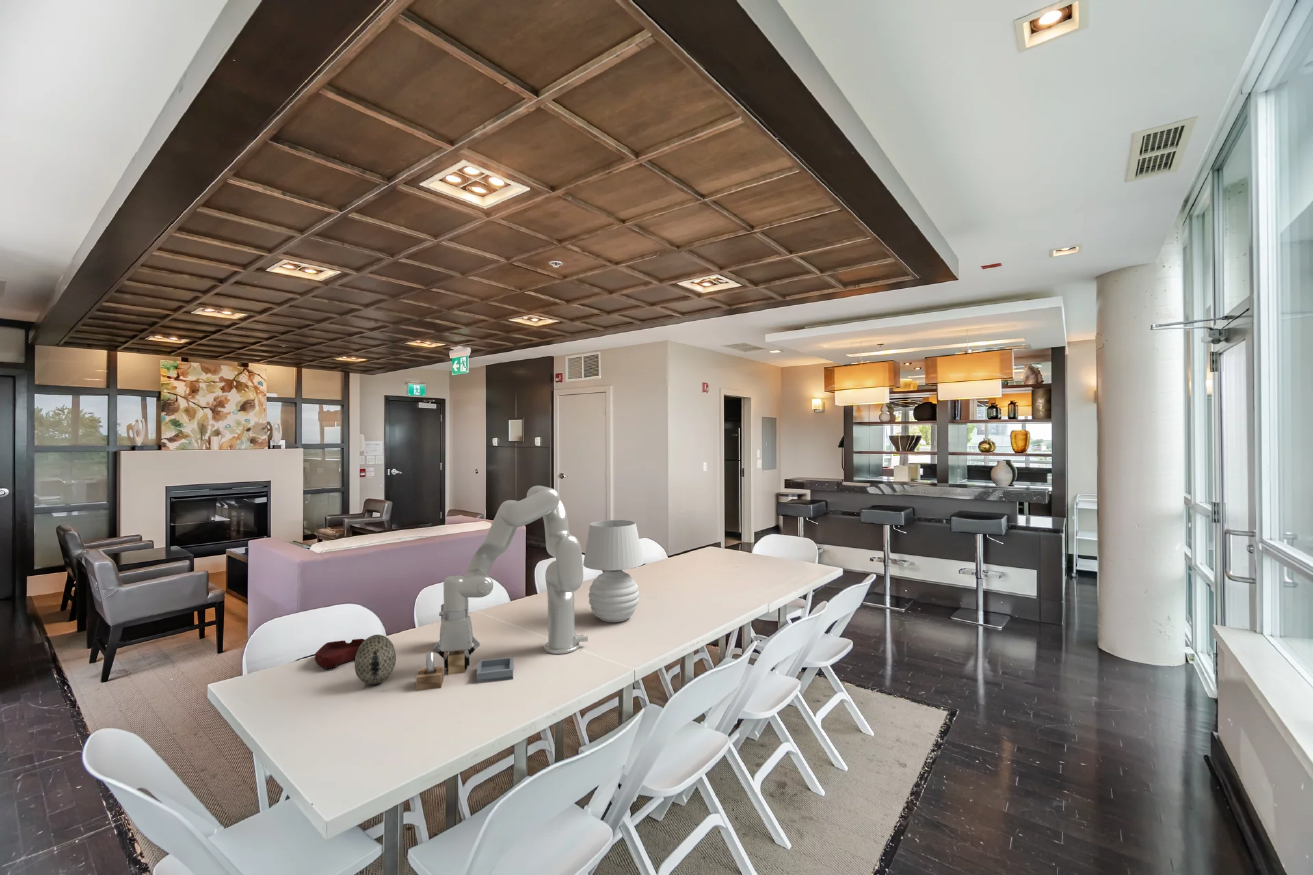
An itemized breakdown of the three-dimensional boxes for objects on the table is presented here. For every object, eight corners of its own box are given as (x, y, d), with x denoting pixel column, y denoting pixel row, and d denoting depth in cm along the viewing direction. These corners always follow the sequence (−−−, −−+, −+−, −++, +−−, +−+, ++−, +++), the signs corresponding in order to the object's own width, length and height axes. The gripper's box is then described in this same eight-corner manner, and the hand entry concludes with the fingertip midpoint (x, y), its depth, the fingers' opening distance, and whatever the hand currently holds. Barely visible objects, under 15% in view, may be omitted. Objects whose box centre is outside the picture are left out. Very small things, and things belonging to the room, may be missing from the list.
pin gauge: (434, 682, 180) (434, 650, 180) (433, 685, 178) (433, 653, 178) (427, 683, 180) (426, 651, 180) (426, 686, 178) (425, 654, 178)
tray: (513, 665, 193) (513, 656, 193) (513, 679, 182) (512, 669, 182) (479, 669, 190) (478, 660, 190) (476, 683, 179) (476, 673, 179)
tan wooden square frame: (443, 678, 183) (443, 666, 183) (440, 687, 176) (440, 674, 176) (420, 681, 182) (420, 668, 182) (416, 690, 175) (416, 677, 175)
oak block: (465, 666, 192) (465, 648, 192) (464, 672, 188) (464, 654, 188) (449, 668, 191) (449, 650, 191) (448, 674, 186) (447, 655, 186)
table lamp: (611, 606, 259) (609, 517, 259) (656, 615, 244) (654, 521, 244) (571, 621, 238) (569, 525, 238) (618, 632, 223) (616, 530, 223)
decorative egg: (356, 679, 184) (355, 632, 184) (396, 672, 188) (395, 627, 188) (353, 694, 173) (352, 644, 173) (395, 686, 178) (395, 638, 178)
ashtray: (351, 647, 213) (351, 634, 213) (378, 655, 204) (377, 641, 204) (301, 664, 197) (300, 650, 197) (327, 674, 189) (327, 659, 189)
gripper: (426, 619, 184) (427, 676, 184) (482, 615, 188) (483, 670, 188) (430, 613, 191) (431, 667, 191) (483, 608, 195) (484, 662, 195)
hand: (457, 668), depth 189 cm, fingers closed on oak block, 5 cm apart
